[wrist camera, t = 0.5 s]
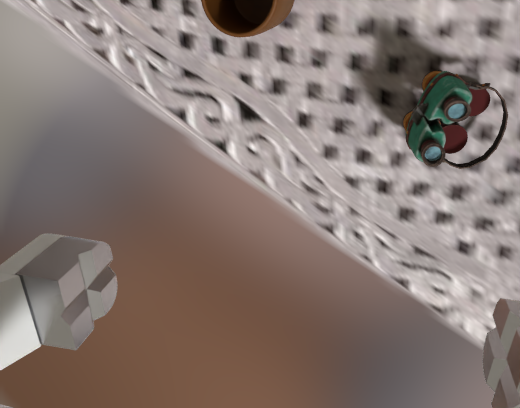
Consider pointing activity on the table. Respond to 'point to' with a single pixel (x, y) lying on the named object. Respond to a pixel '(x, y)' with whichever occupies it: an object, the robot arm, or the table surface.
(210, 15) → the mug
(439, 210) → the table surface
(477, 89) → the binoculars
